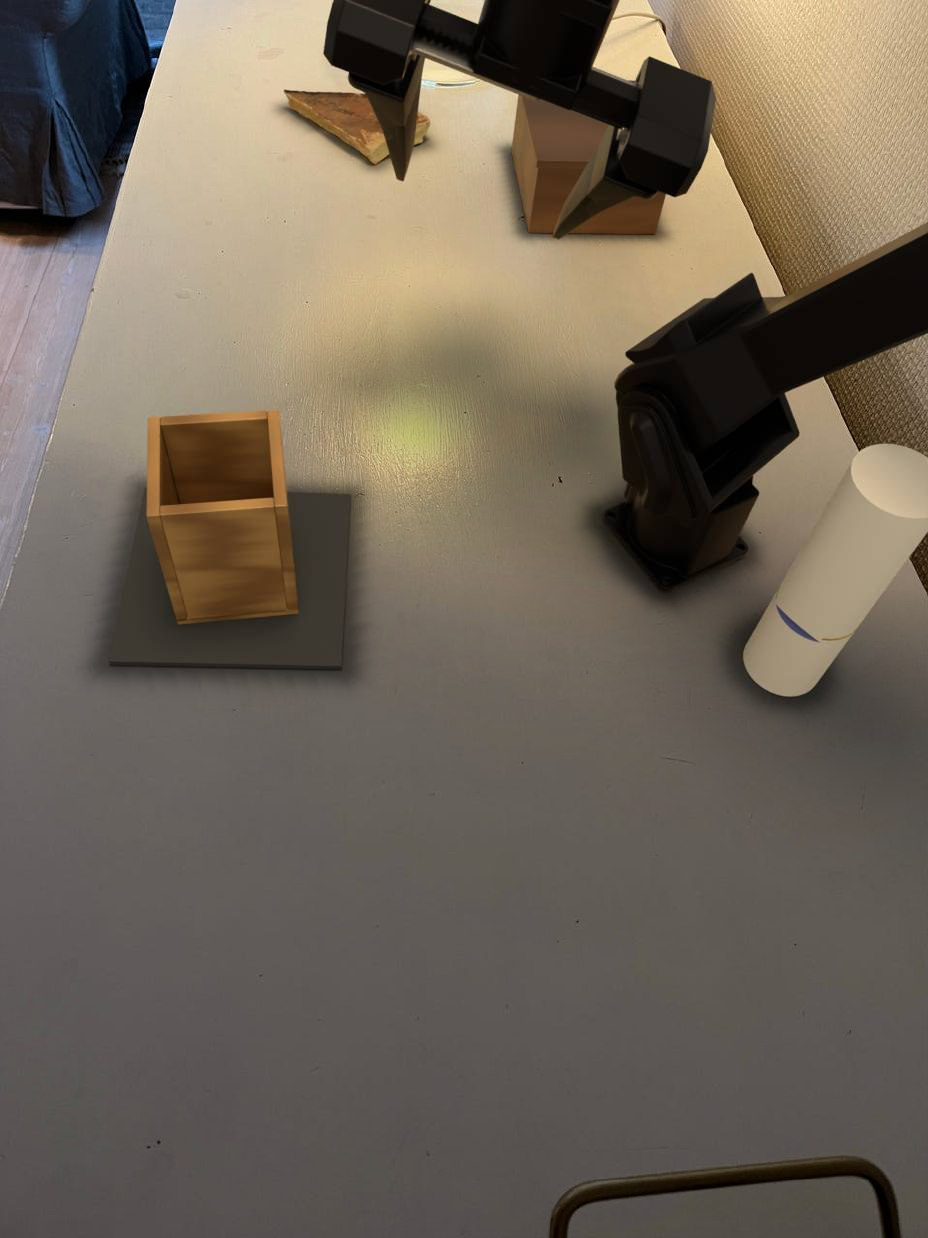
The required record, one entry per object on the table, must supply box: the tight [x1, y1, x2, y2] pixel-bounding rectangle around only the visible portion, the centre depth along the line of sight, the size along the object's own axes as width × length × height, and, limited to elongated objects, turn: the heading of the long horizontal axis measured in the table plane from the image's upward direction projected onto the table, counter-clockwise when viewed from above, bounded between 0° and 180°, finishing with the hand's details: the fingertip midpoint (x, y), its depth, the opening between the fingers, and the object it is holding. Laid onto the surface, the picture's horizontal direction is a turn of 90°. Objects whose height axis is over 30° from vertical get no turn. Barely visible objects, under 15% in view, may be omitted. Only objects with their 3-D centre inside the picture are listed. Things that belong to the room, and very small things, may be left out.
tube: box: [742, 443, 928, 698], centre depth 49 cm, size 4×4×15 cm
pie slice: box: [283, 89, 431, 165], centre depth 81 cm, size 11×8×2 cm
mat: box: [108, 486, 352, 670], centre depth 55 cm, size 12×12×1 cm
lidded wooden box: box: [510, 79, 667, 235], centre depth 76 cm, size 11×10×6 cm
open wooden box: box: [146, 409, 299, 625], centre depth 51 cm, size 6×6×9 cm
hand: (480, 204), depth 55 cm, fingers open, 9 cm apart
